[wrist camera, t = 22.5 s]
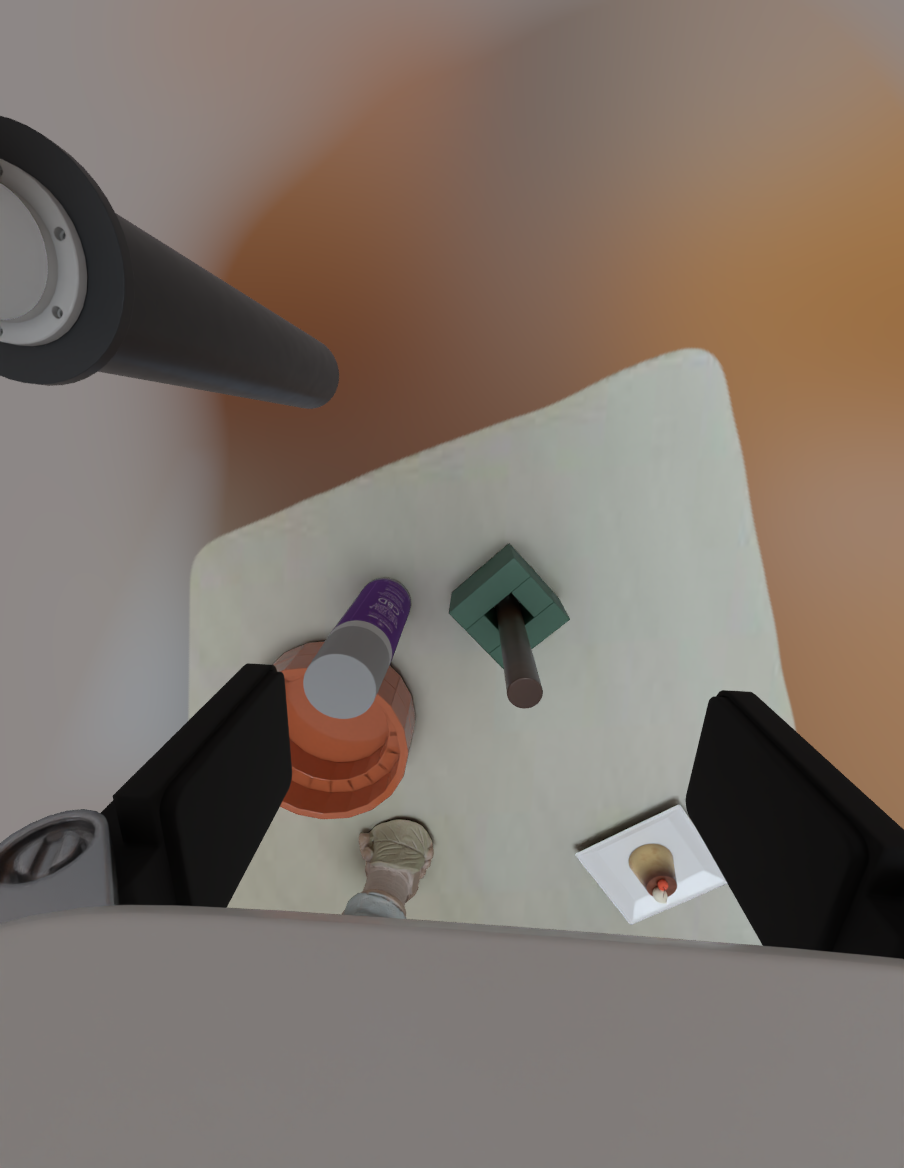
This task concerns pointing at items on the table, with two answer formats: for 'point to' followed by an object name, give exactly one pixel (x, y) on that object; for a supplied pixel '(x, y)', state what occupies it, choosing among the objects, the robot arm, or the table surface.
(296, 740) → the bowl
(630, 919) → the dessert
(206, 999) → the robot arm
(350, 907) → the figurine
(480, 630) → the holder
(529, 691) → the stick
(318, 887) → the table surface
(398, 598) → the container
